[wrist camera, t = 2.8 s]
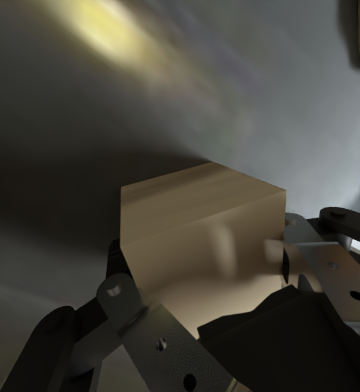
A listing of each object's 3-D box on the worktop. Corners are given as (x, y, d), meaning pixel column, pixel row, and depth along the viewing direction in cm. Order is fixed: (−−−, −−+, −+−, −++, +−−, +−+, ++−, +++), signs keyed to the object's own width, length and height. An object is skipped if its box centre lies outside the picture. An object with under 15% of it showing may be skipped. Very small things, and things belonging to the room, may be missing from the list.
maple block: (120, 186, 11) (120, 246, 5) (212, 161, 12) (286, 190, 7) (147, 261, 13) (165, 354, 8) (221, 234, 14) (280, 299, 9)
